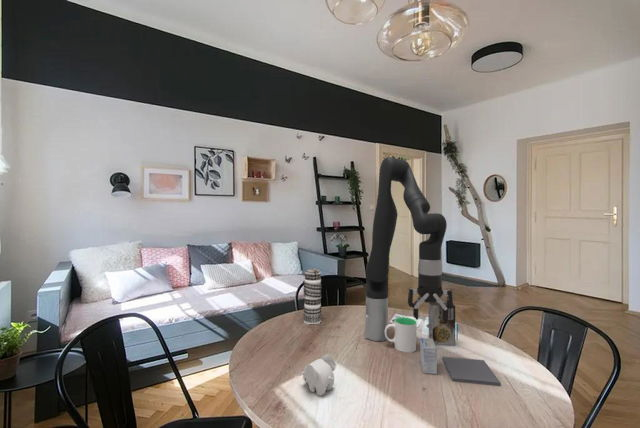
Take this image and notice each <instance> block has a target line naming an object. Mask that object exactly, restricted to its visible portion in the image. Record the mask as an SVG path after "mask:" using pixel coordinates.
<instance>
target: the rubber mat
mask: <svg viewBox="0 0 640 428" xmlns="http://www.w3.org/2000/svg"><path fill="white" fill-rule="evenodd" d="M441 360H442V363H443V364H444V366H445V369H446V371H447V373H448V375H449V377H450V379H451V382H455V383H456V382H458V383H464V384H465V383H466V384H477V385H488V386H495V387H496V386H497V387H500V386H502V384H501V383H502V382H501V381H500V379H498V377H497V375H495V373H494V372H493V370H492V369H491V367H490V366H489V365H488V364H487V362H486V361H485V360H484V359H474V358H465V357H451V356H450V357H449V356H441Z"/></svg>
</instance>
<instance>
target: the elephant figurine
mask: <svg viewBox="0 0 640 428" xmlns="http://www.w3.org/2000/svg"><path fill="white" fill-rule="evenodd" d="M336 368H337V364H336V362H335V360H334V358H333V357H332V356H331V354H329V353H326V354H323V355H322V356H321V358H318V359H316V360H314V361H312V362H310V363H309V364H307V365H305V367H304V371H303V372H302V373H299V374H298V376H299V377H300V376H303V377H302V378H303V379H302V380H303V381H304V383H306V384H308V387H309V392H312V393H315V392H316V395H317V396H318V397H322V396H324V395H325V393H326V391H330V390H332V388H333V387H334V384H335V374H334V371H335V370H336Z"/></svg>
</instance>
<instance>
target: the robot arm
mask: <svg viewBox="0 0 640 428" xmlns="http://www.w3.org/2000/svg"><path fill="white" fill-rule="evenodd" d="M392 182H396V183H397V182H399V183H400V184H401V185H402V187H403V188H404V190H403V201H404V203H405V205H406V206H407V208H408V210H409V212H410V216H411V218H412V219H411V220H412V226H413V228H414V230H415V231H416V232H417V233H418V234H420V235H429V237H428V238H427V240H423V241H421V242H420V243H419V245H418V265H417V266H418V268H417V276H418V277H417V278H418V279H417V280H418V281H417V288H412V287H408V290H407V292H408V293H407V294H408V295H407V305H408V306H409V308H412V309H413V310H412V313H413V314H412V316H413V317H414V318H415V321H417V320H419V308H420V306H421V305H422V304H423V303H424V302H425V303H428V304H429V302H432V303H435V302H437V301H438V303H439V304H440V305H441V306H442V308H441V320H442V321H445V319H446V318H447V309H452V308H453V304H454V303H453V302H454V300H453V292H452V290H451V289H450V288H447V289H443V287H442V286H443V284H442V283H443V280H442V278H443V277H442V276H443V273H442V272H443V269H442V267H443V266H442V245H443V242H444V239H445V235H446V231H447V223H448V222H447V219H446V217H445V216H444V215H443V214H442V213H438V212H437V213H436V212H435V213H429V212H430V210H431V205H430V203H429V201H428V199H427V198H426V197H425V195H424V193H423V192H422V191H421V189H420V187H419V185H418V183H417V180H416V178H415V174H414V173H413V171H412V168H411V166H410V163H409V162H408V161H406V160H404V159H401V158H398V157H393V156H386V157H384V159H383V160H382V161H381V163H380V168H379V175H378V188H377V190H378V191H377V198H376V205H375V210H374V217H373V223H372V233H371V234H372V235H371V238H372V239H371V240H372V241H371V250H370V255H369V258H368V262H367V263H366V267H365V274H366V275H365V282H366V283H365V332H364V333H365V335H364V338H365V339H367V340H370V341H375V342H383V341H386V340H387V338H386V337H385V328H386V326H387V325H388V324H389V271H390V270H389V267H390V265H389V264H390V263H389V262H390V252H391V247H392V242H393V239H394V237H395V236H394V235H395V231H396V227H397V226H396V225H397V220H398V209H397V207H396V202H395V201H394V198H393V195H392ZM416 294H417V295H418V297H417V299H416V300H415V302H413V301H414V300H413V298H414V296H415V295H416ZM443 295H444V296H445V297H446V301H447V304H444V303H443V302H442V301H443V300H442V299H441V297H442V296H443ZM388 330H389V328H388V329H387V331H386V334H387V337H388V338H389V336H388V335H389V333H388V332H389V331H388Z"/></svg>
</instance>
